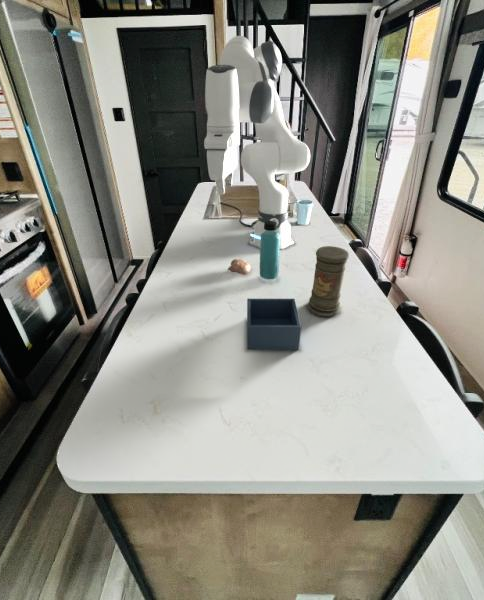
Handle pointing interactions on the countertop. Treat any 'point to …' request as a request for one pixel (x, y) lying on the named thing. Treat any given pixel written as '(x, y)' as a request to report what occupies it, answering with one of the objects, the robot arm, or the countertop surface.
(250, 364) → the countertop surface
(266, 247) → the beverage bottle
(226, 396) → the countertop surface
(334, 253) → the container
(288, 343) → the tote
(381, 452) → the countertop surface
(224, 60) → the robot arm
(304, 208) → the cup
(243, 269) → the beige lumpy piece
